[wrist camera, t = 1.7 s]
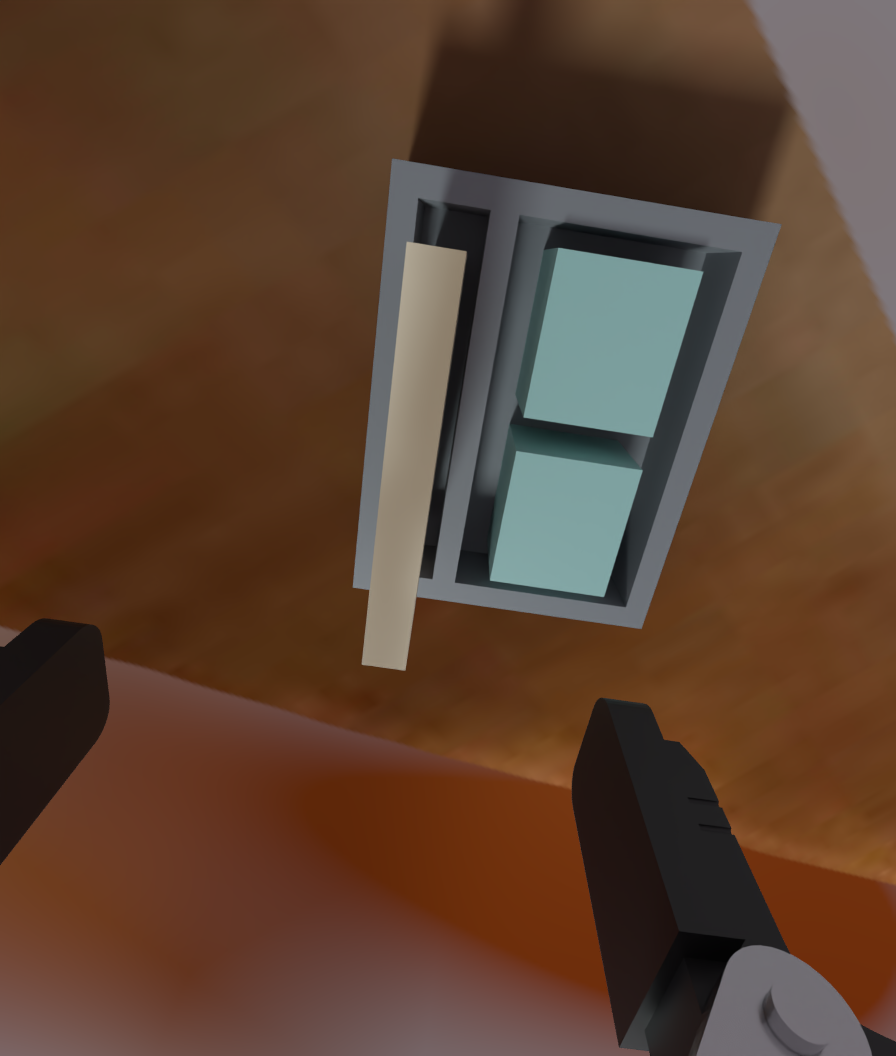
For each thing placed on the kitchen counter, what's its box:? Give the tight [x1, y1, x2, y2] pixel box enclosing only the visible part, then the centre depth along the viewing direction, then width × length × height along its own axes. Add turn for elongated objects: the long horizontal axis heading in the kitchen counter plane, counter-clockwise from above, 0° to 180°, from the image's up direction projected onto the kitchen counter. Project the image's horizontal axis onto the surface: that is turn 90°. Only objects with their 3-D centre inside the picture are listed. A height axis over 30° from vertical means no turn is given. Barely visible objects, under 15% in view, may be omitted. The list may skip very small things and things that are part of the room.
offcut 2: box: [487, 424, 643, 597], centre depth 31 cm, size 6×7×5 cm
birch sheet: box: [362, 242, 467, 670], centre depth 25 cm, size 2×14×14 cm, turn 172°
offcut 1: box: [515, 248, 703, 437], centre depth 27 cm, size 6×7×5 cm
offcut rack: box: [353, 159, 782, 629], centre depth 30 cm, size 16×20×5 cm
